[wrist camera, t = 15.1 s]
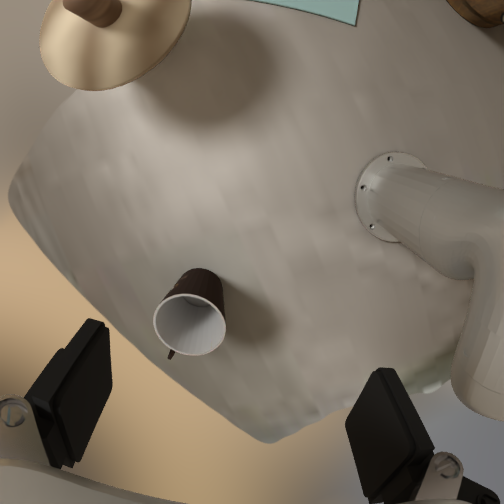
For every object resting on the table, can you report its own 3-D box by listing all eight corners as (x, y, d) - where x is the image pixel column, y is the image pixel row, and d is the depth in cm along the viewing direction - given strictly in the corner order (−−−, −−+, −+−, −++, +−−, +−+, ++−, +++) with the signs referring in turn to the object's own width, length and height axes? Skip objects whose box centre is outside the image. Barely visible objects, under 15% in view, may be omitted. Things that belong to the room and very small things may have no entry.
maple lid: (208, -49, 21) (199, -84, 14) (171, 94, 27) (149, 84, 20) (68, -36, 20) (38, -58, 13) (32, 92, 26) (-9, 90, 19)
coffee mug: (205, 248, 44) (193, 279, 34) (242, 295, 46) (240, 334, 37) (144, 292, 46) (123, 328, 37) (181, 332, 49) (168, 374, 39)
